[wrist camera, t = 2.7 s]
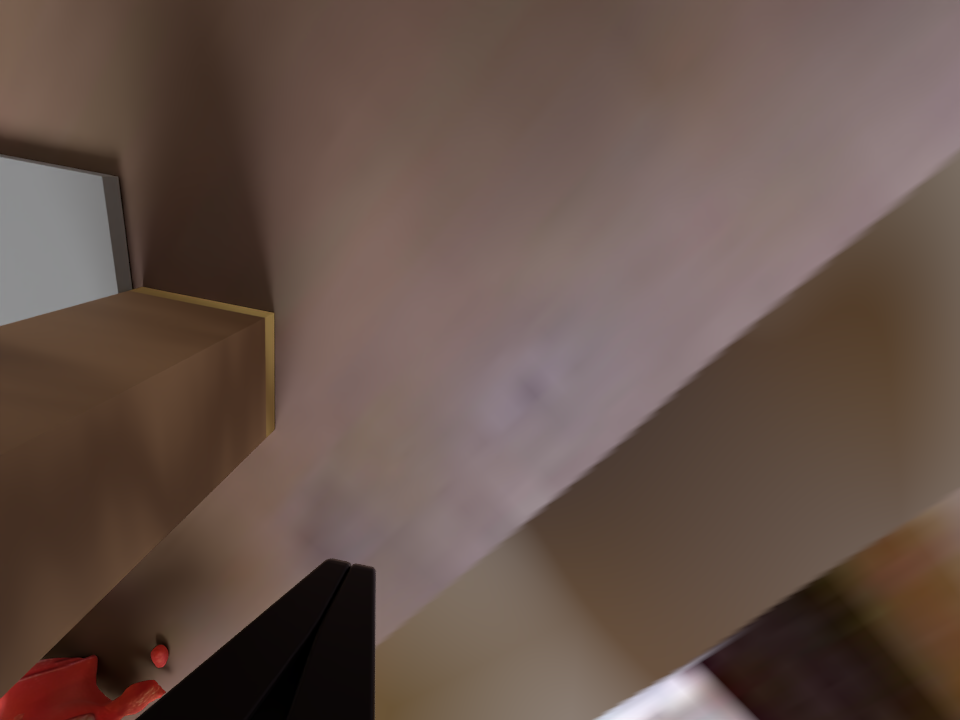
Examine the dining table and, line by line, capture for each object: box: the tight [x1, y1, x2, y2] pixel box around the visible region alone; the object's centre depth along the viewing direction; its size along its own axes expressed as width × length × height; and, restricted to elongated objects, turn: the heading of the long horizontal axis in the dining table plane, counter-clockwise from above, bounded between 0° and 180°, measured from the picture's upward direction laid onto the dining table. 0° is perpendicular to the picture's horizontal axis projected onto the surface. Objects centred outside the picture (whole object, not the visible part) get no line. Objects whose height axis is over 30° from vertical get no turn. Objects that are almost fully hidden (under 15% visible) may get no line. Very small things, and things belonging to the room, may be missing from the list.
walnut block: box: [0, 287, 275, 699], centre depth 10 cm, size 4×4×9 cm
